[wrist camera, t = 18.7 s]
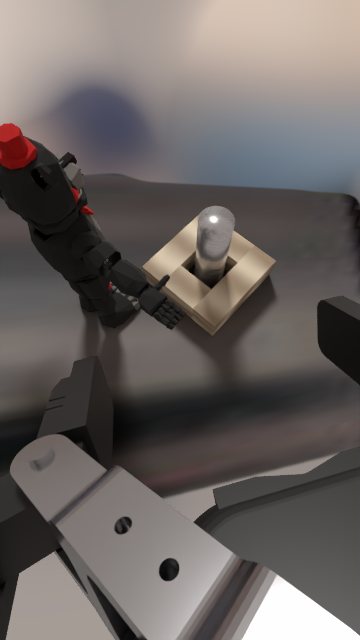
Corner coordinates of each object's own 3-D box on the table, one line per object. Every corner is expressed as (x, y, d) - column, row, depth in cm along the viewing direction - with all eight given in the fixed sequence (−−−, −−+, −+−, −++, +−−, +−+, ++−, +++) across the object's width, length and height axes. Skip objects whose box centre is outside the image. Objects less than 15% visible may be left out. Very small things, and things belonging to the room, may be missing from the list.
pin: (209, 295, 51) (218, 242, 38) (188, 278, 52) (190, 222, 39) (227, 276, 52) (242, 219, 39) (206, 260, 53) (214, 200, 40)
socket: (212, 336, 48) (214, 326, 45) (145, 279, 52) (142, 266, 48) (269, 274, 52) (276, 261, 48) (202, 225, 56) (204, 209, 52)
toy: (200, 346, 48) (225, 202, 20) (167, 387, 46) (141, 290, 18) (59, 238, 55) (-69, 21, 27) (24, 269, 53) (-154, 68, 25)
